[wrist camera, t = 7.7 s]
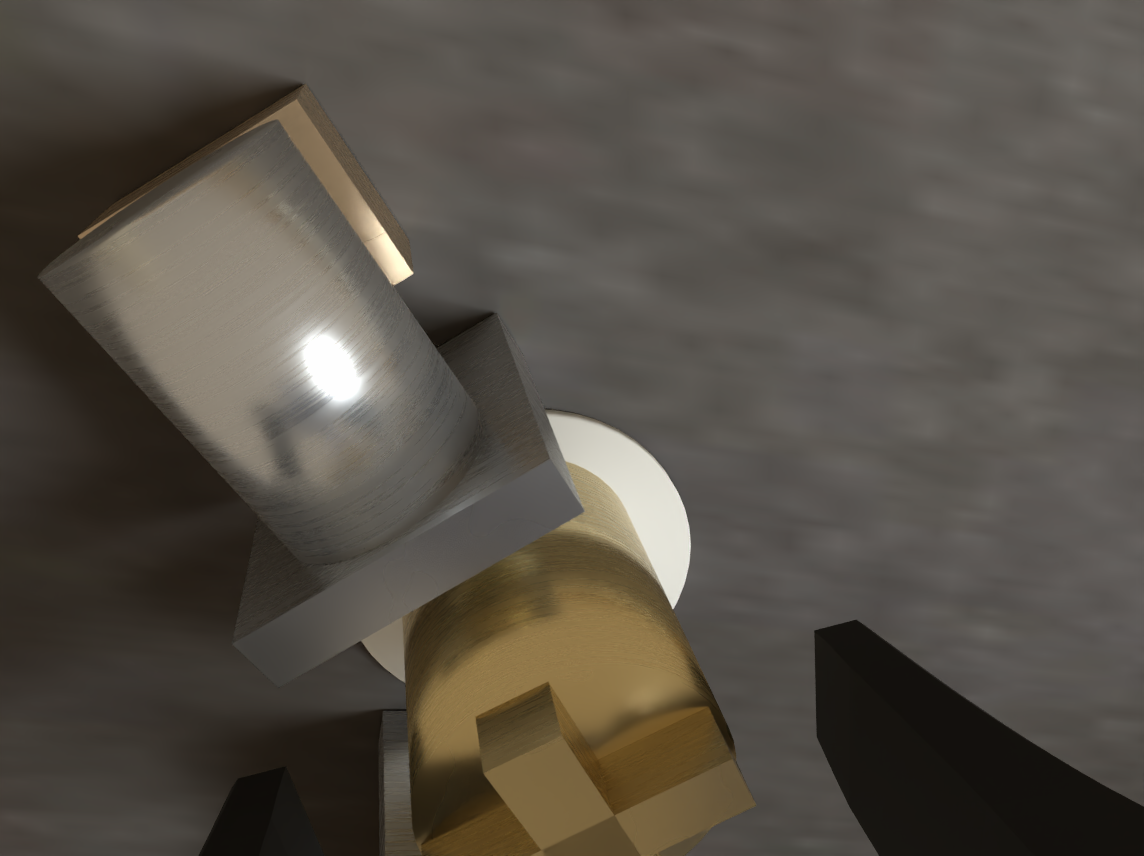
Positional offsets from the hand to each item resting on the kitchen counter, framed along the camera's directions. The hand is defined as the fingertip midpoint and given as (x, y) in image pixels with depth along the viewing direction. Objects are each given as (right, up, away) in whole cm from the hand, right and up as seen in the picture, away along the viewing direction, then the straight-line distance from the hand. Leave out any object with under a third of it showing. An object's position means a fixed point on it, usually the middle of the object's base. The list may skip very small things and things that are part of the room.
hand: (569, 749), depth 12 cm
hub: (-1, +2, +3) cm, 4 cm away
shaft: (-4, +6, +1) cm, 7 cm away
